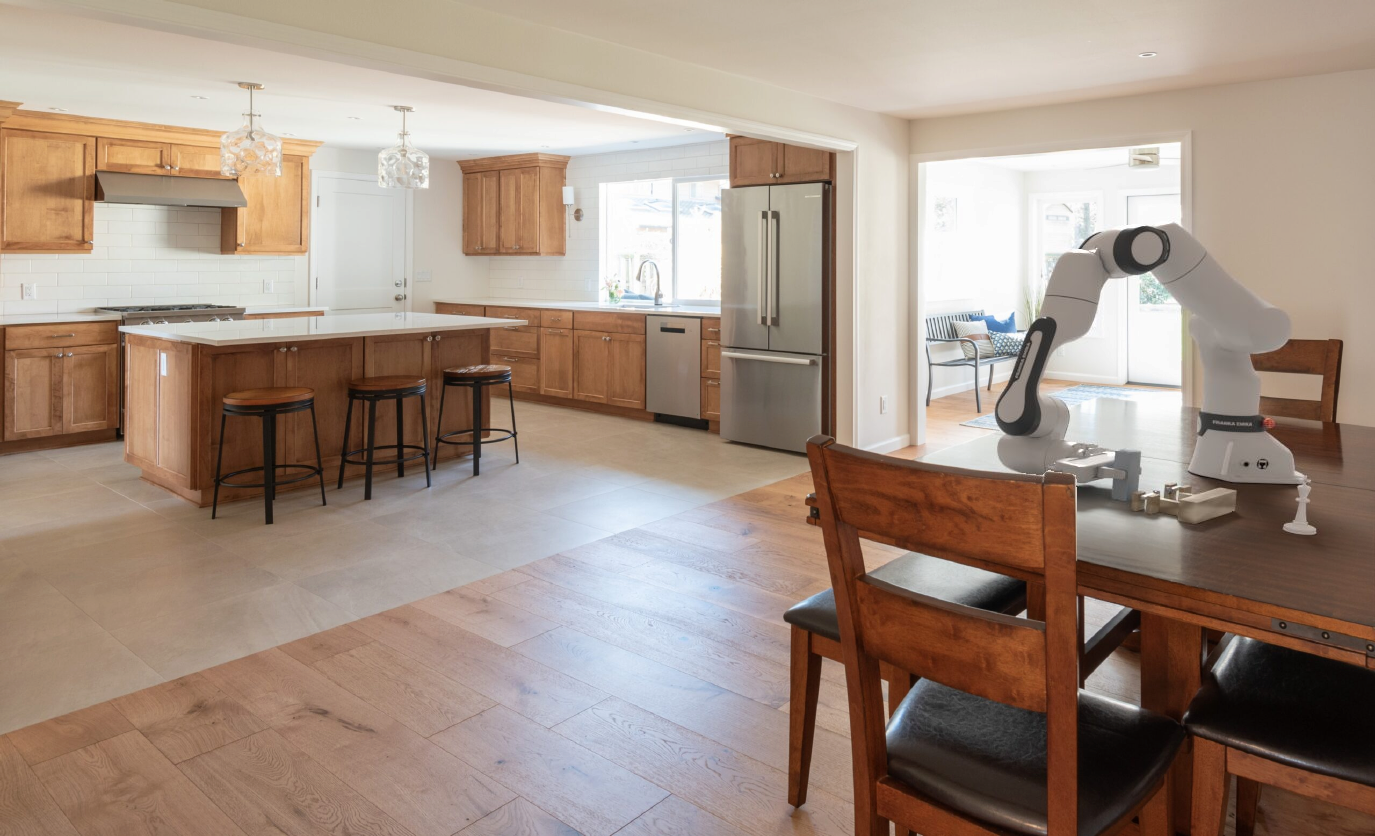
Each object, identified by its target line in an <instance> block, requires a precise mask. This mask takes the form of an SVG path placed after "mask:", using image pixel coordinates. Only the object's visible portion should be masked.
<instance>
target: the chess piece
mask: <svg viewBox="0 0 1375 836" xmlns="http://www.w3.org/2000/svg"><path fill="white" fill-rule="evenodd" d="M1299 482H1303V484H1298V485H1297V491H1298V495H1299V497H1296V498H1295V501H1296V502H1298V505H1297V506H1298V508H1297V512H1296V515H1295V518H1294V520H1292V522H1286V523H1284V524H1283V527H1282V530H1283V531H1285V532H1288V533H1292V534H1296V535H1305V536H1306V535H1307V536H1312V535H1315V534H1317V528H1316V527H1314V526H1313V525H1310V524H1309V522H1308V521H1307V507H1306V506H1307V503H1310V502H1311V500H1310V499H1309V498H1308V495H1310V494H1309V493H1310V492H1311V490H1312V487H1311V486H1309V485H1307V483H1310V484H1311V483H1312V479H1308V475H1304V479H1299Z"/></svg>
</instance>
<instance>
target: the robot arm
mask: <svg viewBox="0 0 1375 836" xmlns="http://www.w3.org/2000/svg"><path fill="white" fill-rule="evenodd" d="M1149 272H1151V274H1152V275H1153V276H1154V277H1155V278H1156V280H1157V281H1158V282H1159V283H1160V284H1161V285H1162V286H1163V288H1164V289H1165V290H1166V291H1167V292H1168V293H1169V294H1170V296H1171V297H1173V299H1174V301H1176V302H1177V303H1178V304H1179V306H1181V307H1182V308H1183V309H1184V310H1187V311H1189V312H1190V313H1192V314H1191V315H1190V317H1189V320H1188V331H1189V335H1190V337H1191V338H1192V339H1193V341H1194V342H1195V344H1196V346H1197V349H1198V353H1199V356H1200V357H1199V358H1200V361H1201V367H1202V372H1203V373H1202V375H1203V377H1202V378H1203V383H1202V384H1203V385H1202V388H1203V389H1202V400H1201V401H1202V402H1201V409H1200V410H1199V411H1198V416H1197V422H1196V424H1197V425H1196V432H1197V433H1196V434H1197V439H1196V440H1197V441H1196V445H1195V448H1194V452H1193V455H1192V458H1191V461H1190V464H1189V466H1188V467H1187V471H1188V472H1190V473H1192V474H1195V475H1199V476H1203V477H1207V478H1212V479H1213V478H1214V479H1218V480H1222V481H1225V482H1232V483H1250V484H1251V483H1253V484H1255V483H1256V484H1258V483H1259V484H1286V485H1287V484H1289V485H1290V484H1291V485H1303V482H1299V479H1304V476H1305V475H1304V474H1303V473H1301V472H1300V471H1297V470H1295V469H1296V467H1295V460H1294V455H1293V453H1292V451H1291V450H1290V449H1289V448H1288V447H1287V446H1286V445H1284V444H1282V443H1281V442H1280V441H1279V440H1278V439H1277V438H1275V437H1274V436H1273V435H1271V434H1270V433H1268V431H1266V430H1268V429H1272V428H1273V427H1275V425H1276V423H1275V421H1274V419H1271V418H1270V417H1265V416H1263V415H1261V414H1259V411H1260V401H1261V391H1262V390H1261V389H1262V388H1261V387H1262V378H1261V377H1260V375H1259V374H1258V373H1257V371H1256V370H1255V368H1254V365H1253V363H1252V359H1251V355H1257V354H1259V355H1260V354H1264V353H1271V352H1275V351H1277V350H1280V349H1281V348H1282V347H1284V346H1285V345H1286V344H1287V342H1288V341H1289V340H1290V338H1291V335H1292V331H1293V323H1292V319H1291V317H1290V316H1289V315H1288V313H1287V312H1286V311H1284V310H1283V309H1281V308H1280V307H1277V306H1275V305H1273V304H1271V303H1270V302H1268V301H1266V300H1264V299H1263V298H1262V297H1260V296H1259V295H1258V294H1257V293H1255V292H1254V291H1253V290H1251V289H1250V288H1248V287H1247V286H1245V284H1243V283H1241V282H1240V281H1239V280H1237V279H1235V277H1234V276H1232V275H1231V274H1230V273H1229V272H1227V270H1226V269H1225V268H1223V266H1222V265H1221V264H1220V263H1219V262H1218V261H1217V260H1216V258H1215V257H1214V256H1213V255H1212V254H1211V253H1210V251H1208V249H1207V248H1206V247H1205V246H1204V244H1202V243H1201V242H1200V241H1199V240H1198V239H1197V238H1196V237H1195V236H1193V235H1192V234H1191V233H1190V232H1189V231H1187V230H1186V229H1185V228H1183V227H1182V226H1180V225H1179V224H1178V223H1176V222H1175V221H1169V220H1166V221H1160V222H1157V223H1155V224H1153V225H1148V224H1147V225H1146V224H1140V223H1138V224H1137V223H1136V224H1131V225H1122V226H1115V227H1112V228H1110V229H1107V230H1104V231H1103V230H1102V231H1098V232H1096V233H1094V234H1091V235H1089V236H1088V237H1087V238H1085V240H1084V241H1083V242H1082V243H1081V244H1080V246H1079V247H1078V249H1073V250H1069V251H1066V252H1064V253H1062V254H1061V255H1060V257H1058V258H1057V261H1056V263H1055V265H1054V267H1053V270H1052V272H1051V274H1050V277H1049V280H1048V283H1047V287H1046V290H1045V293H1044V296H1043V297H1044V298H1043V300H1042V304H1041V308H1040V310H1039V313H1038V314H1037V317H1036V318H1035V320H1034V321H1033V322H1032V323H1031V325H1030V326H1029V327H1028V330H1027V332H1026V333H1025V334H1026V335H1025V337H1024V339H1023V341H1022V345H1021V347H1020V350H1019V352H1018V356H1017V358H1016V360H1015V362H1014V363H1015V364H1014V366H1013V369H1012V372H1011V375H1010V378H1009V380H1008V382H1007V384H1006V386H1005V388H1004V389H1003V391H1002V393H1000V395H999V397H998V399H997V401H996V403H995V407H994V418H995V422H996V424H997V427H998V428H999V429H1000V430H1001V431H1002V432H1003V433H1004V434H1003V435H1001V437H1000V438H999V439H998V442H997V447H996V450H997V457H998V459H999V461H1000V463H1001V464H1002V465H1003V466H1004V467H1005V468H1007V469H1009V470H1011V471H1014V472H1016V473H1020V474H1023V473H1026V474H1025V475H1027V474H1036V475H1043V474H1044V473H1045V472H1046V471H1048V470H1051V471H1054V472H1062V473H1070V474H1074V475H1076V479H1077V483H1078V484H1087V483H1091V482H1093V481H1094V482H1095V481H1098V480H1104V479H1113V478H1116V479H1121V480H1122V479H1125V478H1127V473H1128V472H1127V470H1123V469H1114V459H1115V449H1110V448H1106V447H1105V448H1104V447H1099V444H1098V443H1089V442H1084V443H1083V442H1082V443H1081V442H1078V441H1070V440H1064V439H1065V436H1066V434H1067V431H1068V427H1069V424H1070V421H1071V420H1070V417H1071V414H1070V410H1069V408H1068V406H1067V404H1066V403H1065V402H1064V401H1063V400H1061V399H1060V398H1058V397H1054V396H1051V395H1045V394H1041V393H1040V392H1039V391H1040V386H1041V383H1042V380H1043V377H1044V375H1045V372H1046V370H1047V369H1046V368H1047V367H1048V363H1049V360H1050V358H1051V357H1052V355H1053V353H1054V352H1055V351H1056V350H1057V349H1058V348H1060V347H1061V346H1063V345H1065V344H1068V343H1073V342H1075V341H1077V340H1079V339H1081V338H1082V337H1084V336H1085V335H1087V334H1088V332H1090V329H1091V327H1092V325H1093V323H1094V321H1095V318H1096V314H1097V311H1098V307H1099V303H1100V297H1101V292H1102V290H1103V287H1104V285H1105V284H1106V283H1107V281H1108V280H1111V279H1113V280H1114V279H1115V280H1118V279H1124V278H1128V277H1132V276H1140V275H1145V274H1146V273H1149ZM1141 475H1142V466H1140V473H1139V476H1141Z"/></svg>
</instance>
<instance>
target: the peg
mask: <svg viewBox="0 0 1375 836" xmlns="http://www.w3.org/2000/svg"><path fill="white" fill-rule="evenodd" d="M1114 450H1115V449H1114ZM1141 457H1142V451H1141V450H1138V449H1133V448H1127V447H1125V448H1120V449H1116V450H1115V459H1114V469H1123V470H1127V472H1128V473H1127V478H1125V479H1122V480H1121V479H1116V478H1112V489H1111V498H1114V499H1113V500H1116V499H1119V500H1118V501H1120V502H1121V501H1122V502H1129V501H1130V502H1131V503H1132V493H1135V492H1138V491H1139V487H1140V485H1139V483H1140V475H1139V473H1140V467H1141V459H1142V458H1141Z"/></svg>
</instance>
